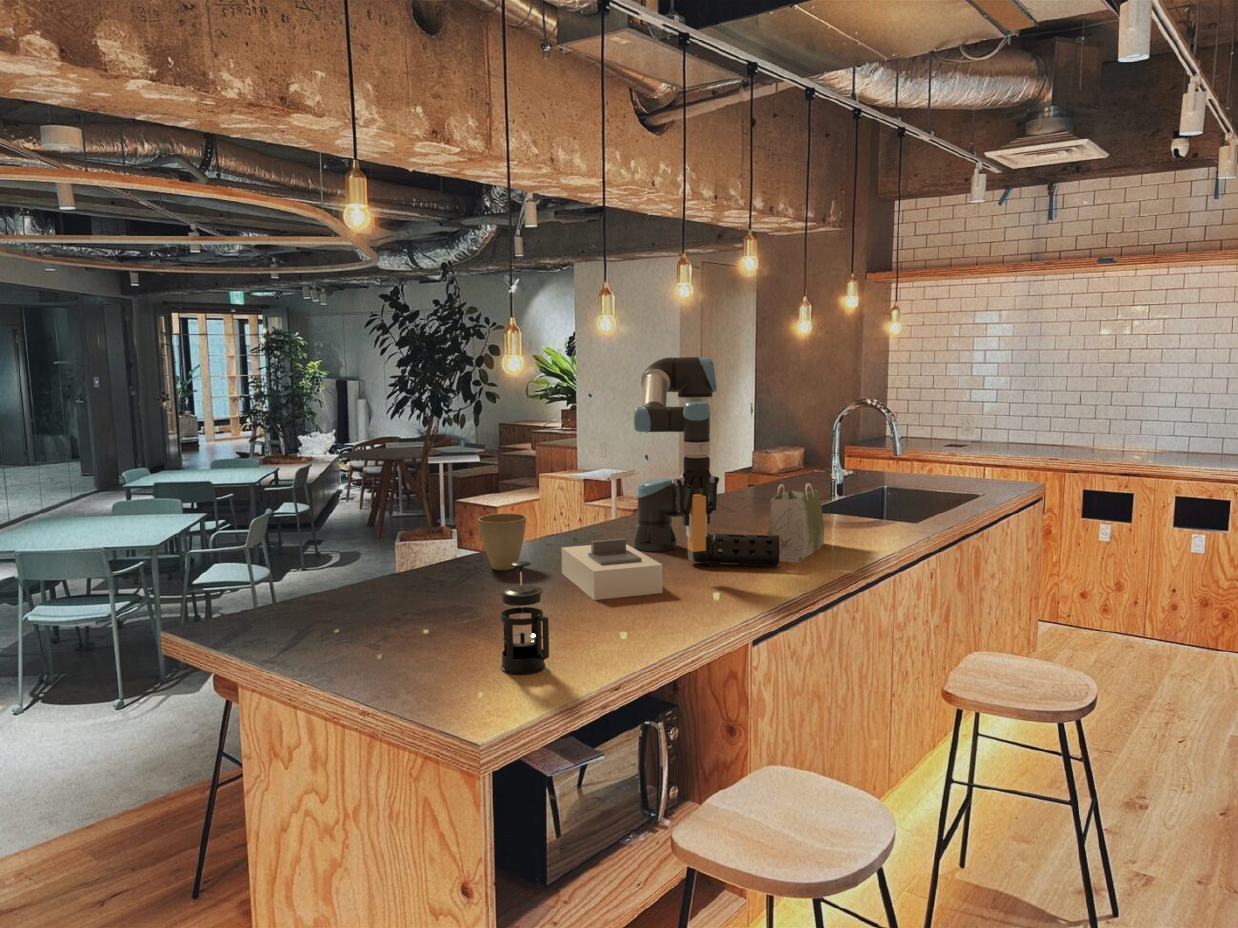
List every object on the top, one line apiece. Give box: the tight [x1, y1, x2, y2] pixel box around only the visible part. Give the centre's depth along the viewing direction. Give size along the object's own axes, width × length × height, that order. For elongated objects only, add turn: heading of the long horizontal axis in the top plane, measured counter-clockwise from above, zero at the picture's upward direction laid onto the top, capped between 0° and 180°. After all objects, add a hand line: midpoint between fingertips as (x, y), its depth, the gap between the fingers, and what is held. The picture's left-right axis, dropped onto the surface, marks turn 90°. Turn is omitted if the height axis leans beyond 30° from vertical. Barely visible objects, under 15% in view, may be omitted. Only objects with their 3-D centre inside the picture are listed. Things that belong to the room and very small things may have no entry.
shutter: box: [588, 537, 641, 565], centre depth 258 cm, size 12×12×4 cm
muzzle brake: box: [687, 531, 780, 568], centre depth 282 cm, size 10×28×10 cm, turn 78°
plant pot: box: [477, 512, 527, 571], centre depth 282 cm, size 15×15×16 cm
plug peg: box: [687, 494, 706, 552], centre depth 261 cm, size 4×4×16 cm
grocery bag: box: [766, 482, 825, 564], centre depth 300 cm, size 32×14×23 cm, turn 155°
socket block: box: [561, 543, 664, 601], centre depth 262 cm, size 32×20×8 cm, turn 19°
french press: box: [499, 560, 550, 676], centre depth 191 cm, size 12×9×23 cm
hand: (696, 535), depth 262 cm, fingers closed on plug peg, 4 cm apart
